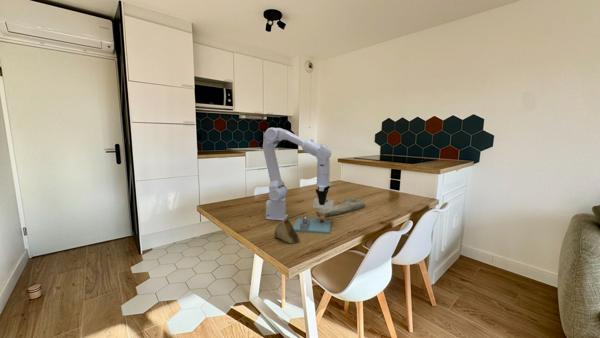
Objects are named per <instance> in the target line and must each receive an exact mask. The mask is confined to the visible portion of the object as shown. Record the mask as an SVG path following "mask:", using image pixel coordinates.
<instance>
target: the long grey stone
mask: <svg viewBox="0 0 600 338" xmlns="http://www.w3.org/2000/svg"><path fill="white" fill-rule="evenodd" d="M364 207H366V201H364V200H358V199H355V198H348V197H347V198H344V199H343V201H341V202H339V203H338V204H334V205H333V210H329V209H321V208H317V210H316V211H315V214H316V216H317V217H318V218H320V214H324V218H326V217H333V216H338V215H342V214H347V213H349V212H352V211H357V210H360V209H362V208H364Z"/></svg>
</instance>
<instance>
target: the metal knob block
mask: <svg viewBox="0 0 600 338" xmlns="http://www.w3.org/2000/svg"><path fill="white" fill-rule="evenodd" d="M301 219H302V222H301V224H300V229H302V230H308V227H309V224H310V219H311V218H308V216H303V217H302V218H301Z"/></svg>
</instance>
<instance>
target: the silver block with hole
mask: <svg viewBox="0 0 600 338" xmlns="http://www.w3.org/2000/svg"><path fill="white" fill-rule="evenodd" d="M312 203H313V204H312V208H313V209H315V208H316V209H329V210H333V205H335V200H334V199H327V198H326V199H325V204H324V205H320V204H319V199H318V197H314V199H313V201H312Z"/></svg>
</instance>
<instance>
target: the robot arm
mask: <svg viewBox="0 0 600 338" xmlns="http://www.w3.org/2000/svg"><path fill="white" fill-rule="evenodd" d="M283 140H284V141H289V142H291V143H293V144H295V145H297V146H300V147H301V149H302V151H303V152H305V153H307V154H309V155H312V156H313V157H315V158H316V160H317V163H316V184H315V185H316V186H317V188H316V189H315V193H316V194H317V198H318V199H319V204H320V205H324V204H325V199H327V195H328V193H329V192H330V191H329V190H330V186H332V185H333V183H332V182H331V183H330V174H331V173H330V169H331V166H330V165H331V164H330V162H331V161H330V160H331V159H330V158H331V156H332V150H331V149H330V148H329V147H328V146H324V145H323V144H322V143H321V144H319V143H317V142H315V140H314V139H313V138H312V139H309V138H307V139H304V138H302V137H300V136H298V135H296V134H295V133H292V132H291V131H289V130H287V129H283V128H281V127H269V128H267V129H266V130H265V132H264V133H263V143H262V150H263V154H264V158H265V160H264V161H265V163H266V164H265V165H266V168H267V174H268V178H269V181H270V183H269V184H268V185H269V186H268V190H269V191H268V198H269V199H267V201H266V203H265V220H269V221H270V220H273V221H283V220H284V218H288V215H289V214H286V213H287V210H286V209H287V208H286V206H287V205H286V203H287V201H286V200H287V198H286V196H287V195H288V191H289V190H288V187H287V186H286V184H285V182H284V181H283V180H282V177H281V172H280V168H279V163H278V159H277V155H276V149H275V148H276V147H277V146H278V144H279V143H281V142H282V141H283Z"/></svg>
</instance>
